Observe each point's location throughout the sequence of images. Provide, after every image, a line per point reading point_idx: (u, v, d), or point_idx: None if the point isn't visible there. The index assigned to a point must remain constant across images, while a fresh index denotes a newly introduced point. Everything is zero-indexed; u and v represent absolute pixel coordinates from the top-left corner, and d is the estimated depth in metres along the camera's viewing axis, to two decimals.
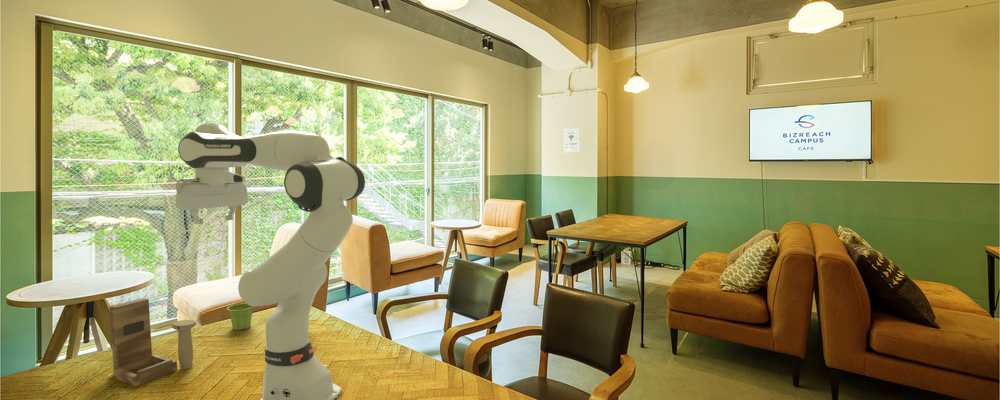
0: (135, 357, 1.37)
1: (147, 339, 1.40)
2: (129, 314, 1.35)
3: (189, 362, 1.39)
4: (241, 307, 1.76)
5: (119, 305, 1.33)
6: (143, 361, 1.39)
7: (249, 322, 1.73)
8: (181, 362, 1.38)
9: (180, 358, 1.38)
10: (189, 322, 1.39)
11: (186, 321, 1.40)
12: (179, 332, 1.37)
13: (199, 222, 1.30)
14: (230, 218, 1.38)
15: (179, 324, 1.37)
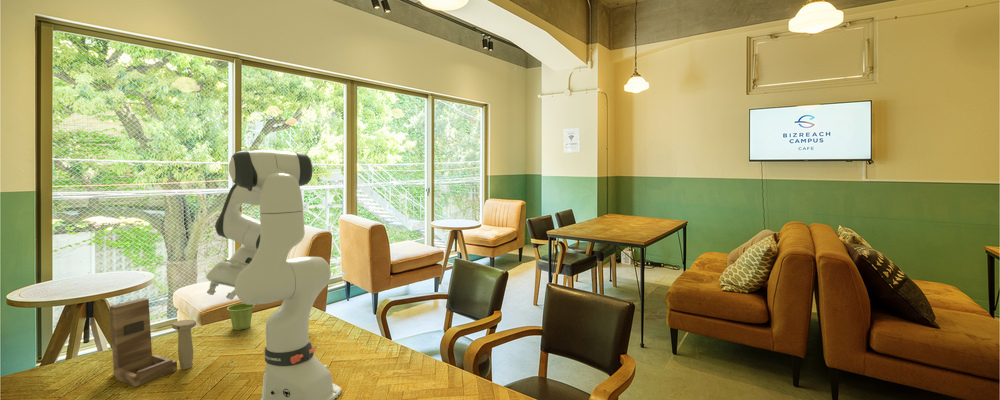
0: (135, 357, 1.37)
1: (147, 339, 1.40)
2: (129, 314, 1.35)
3: (189, 362, 1.39)
4: (241, 307, 1.76)
5: (119, 305, 1.33)
6: (143, 361, 1.39)
7: (249, 322, 1.73)
8: (181, 362, 1.38)
9: (180, 358, 1.38)
10: (189, 322, 1.39)
11: (186, 321, 1.40)
12: (179, 332, 1.37)
13: (208, 291, 1.50)
14: (227, 295, 1.47)
15: (179, 324, 1.37)
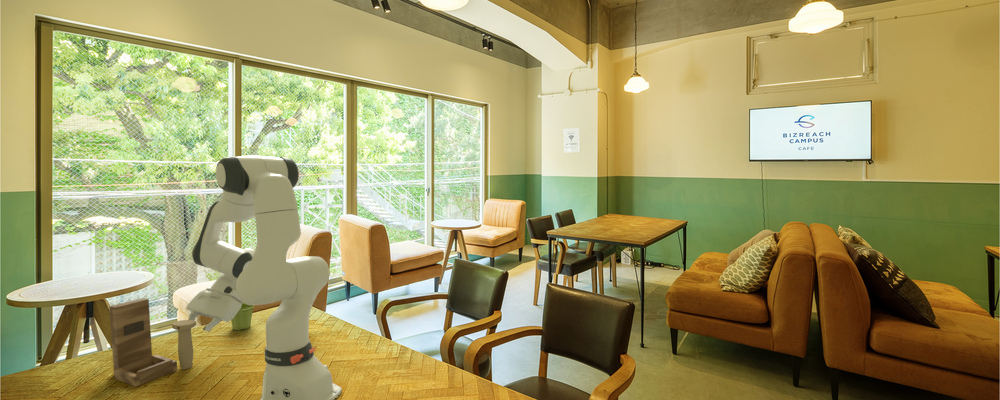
0: (135, 357, 1.37)
1: (147, 339, 1.40)
2: (129, 314, 1.35)
3: (189, 362, 1.39)
4: (241, 307, 1.76)
5: (119, 305, 1.33)
6: (143, 361, 1.39)
7: (249, 322, 1.73)
8: (181, 362, 1.38)
9: (180, 358, 1.38)
10: (189, 322, 1.39)
11: (186, 321, 1.40)
12: (179, 332, 1.37)
13: None
14: (204, 327, 1.40)
15: (179, 324, 1.37)
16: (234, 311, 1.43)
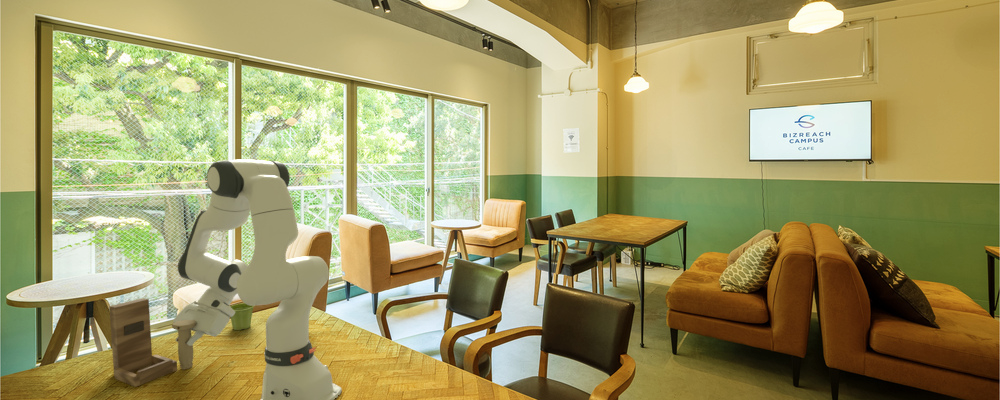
0: (135, 357, 1.37)
1: (147, 339, 1.40)
2: (129, 314, 1.35)
3: (189, 362, 1.39)
4: (241, 307, 1.76)
5: (119, 305, 1.33)
6: (143, 361, 1.39)
7: (249, 322, 1.73)
8: (181, 362, 1.38)
9: (180, 358, 1.38)
10: (189, 322, 1.39)
11: (186, 321, 1.40)
12: (179, 332, 1.37)
13: (176, 339, 1.39)
14: (186, 341, 1.37)
15: (179, 324, 1.37)
16: (221, 325, 1.40)
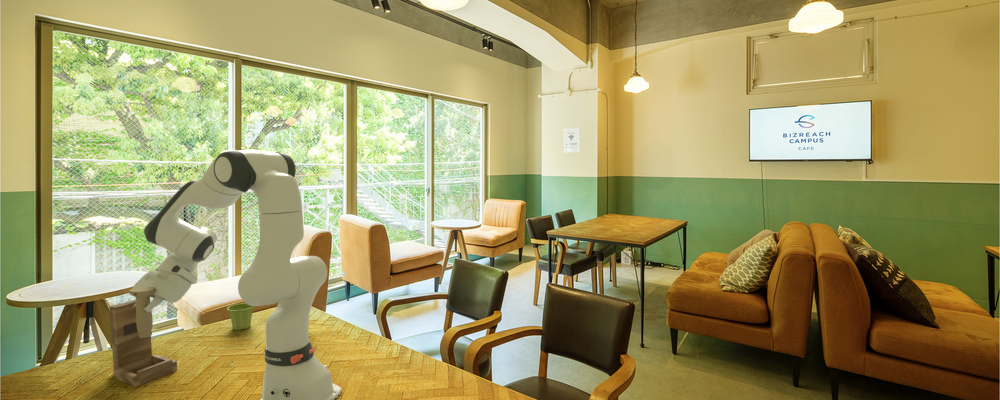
0: (135, 357, 1.37)
1: (147, 339, 1.40)
2: (129, 314, 1.35)
3: (148, 330, 1.33)
4: (241, 307, 1.76)
5: (119, 305, 1.33)
6: (143, 361, 1.39)
7: (249, 322, 1.73)
8: (139, 330, 1.32)
9: (138, 326, 1.32)
10: (147, 289, 1.33)
11: (145, 288, 1.34)
12: (137, 299, 1.31)
13: (134, 305, 1.33)
14: (144, 307, 1.31)
15: (137, 291, 1.31)
16: (181, 291, 1.34)
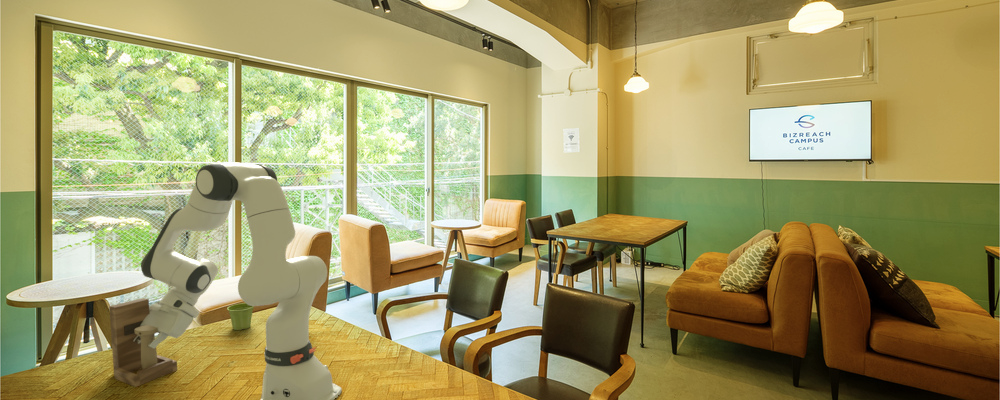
0: (135, 357, 1.37)
1: None
2: (129, 314, 1.35)
3: None
4: (241, 307, 1.76)
5: (119, 305, 1.33)
6: None
7: (249, 322, 1.73)
8: None
9: (142, 364, 1.33)
10: (152, 327, 1.34)
11: (150, 326, 1.35)
12: (141, 338, 1.33)
13: (134, 340, 1.35)
14: (149, 344, 1.32)
15: (141, 330, 1.32)
16: (183, 326, 1.35)
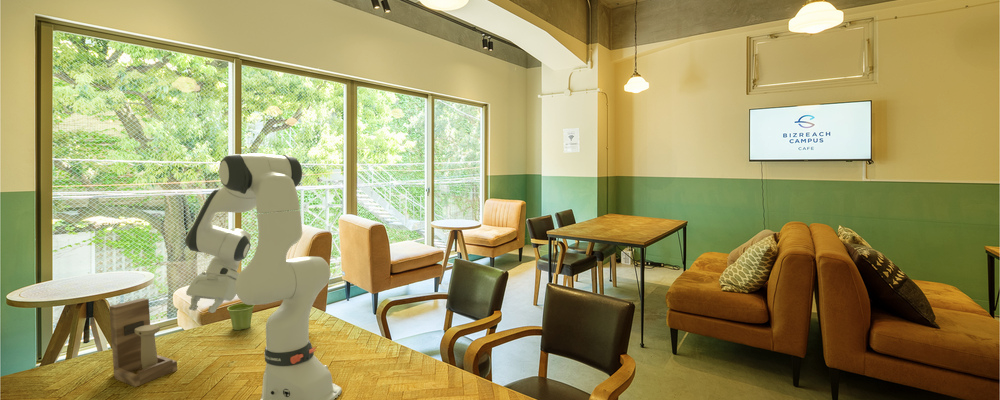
0: (135, 357, 1.37)
1: None
2: (129, 314, 1.35)
3: None
4: (241, 307, 1.76)
5: (119, 305, 1.33)
6: None
7: (249, 322, 1.73)
8: (144, 368, 1.33)
9: (143, 364, 1.33)
10: (152, 327, 1.34)
11: (150, 326, 1.35)
12: (141, 337, 1.33)
13: (189, 308, 1.48)
14: (209, 309, 1.44)
15: (141, 330, 1.32)
16: (234, 289, 1.47)
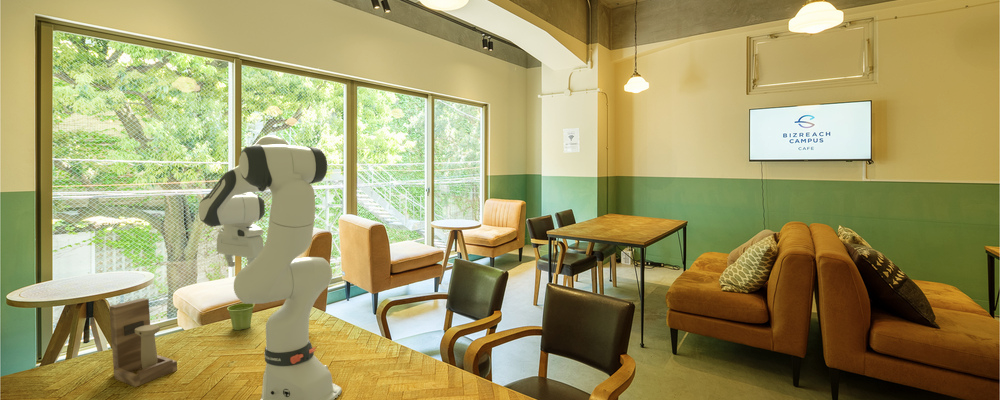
0: (135, 357, 1.37)
1: None
2: (129, 314, 1.35)
3: None
4: (241, 307, 1.76)
5: (119, 305, 1.33)
6: None
7: (249, 322, 1.73)
8: (144, 368, 1.33)
9: (143, 364, 1.33)
10: (152, 327, 1.34)
11: (150, 326, 1.35)
12: (141, 337, 1.33)
13: (228, 265, 1.54)
14: None
15: (141, 330, 1.32)
16: (259, 247, 1.48)
